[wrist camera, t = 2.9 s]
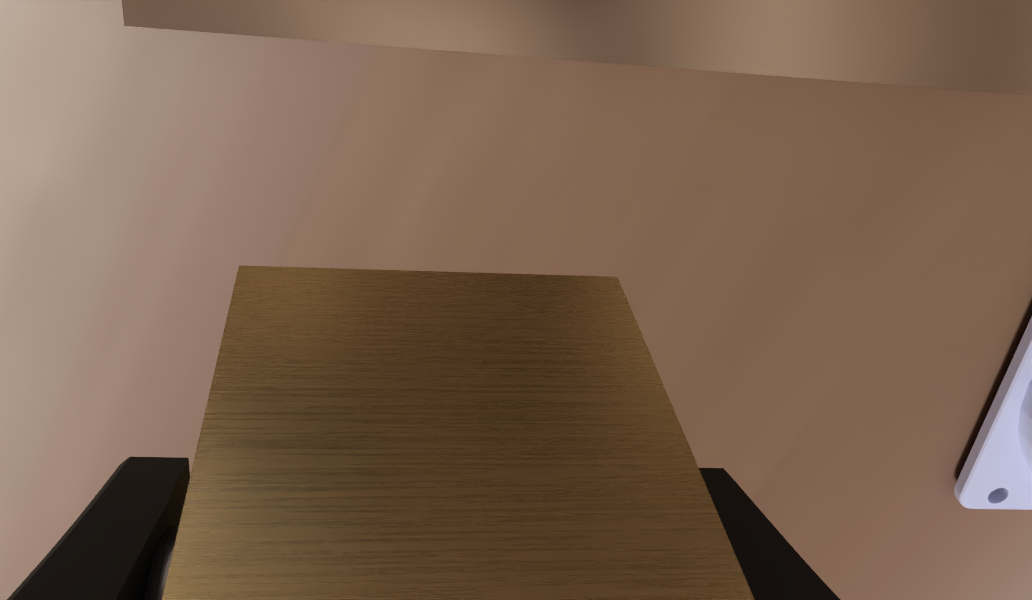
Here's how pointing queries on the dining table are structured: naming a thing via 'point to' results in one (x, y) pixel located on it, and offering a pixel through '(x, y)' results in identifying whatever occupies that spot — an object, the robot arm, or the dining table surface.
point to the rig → (664, 33)
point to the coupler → (440, 448)
